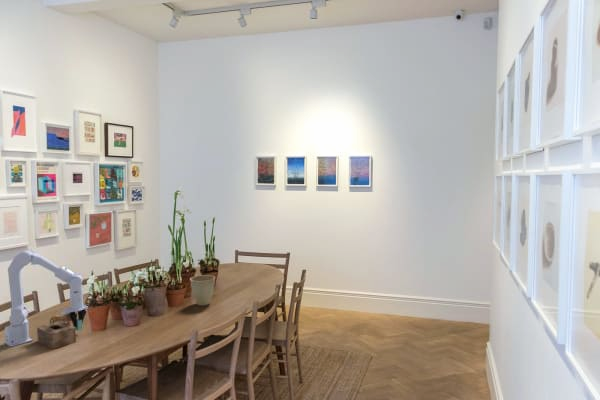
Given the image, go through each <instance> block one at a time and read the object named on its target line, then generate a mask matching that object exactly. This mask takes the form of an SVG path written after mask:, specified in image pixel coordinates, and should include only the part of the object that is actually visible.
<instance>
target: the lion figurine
mask: <svg viewBox="0 0 600 400" xmlns="http://www.w3.org/2000/svg"><path fill="white" fill-rule="evenodd" d="M75 313H76V314H77V315H78V312H75ZM58 321H63V322H65V323H67V324H69V325H71V322H72V320H71V318H70V316H69V315H68V314H66V315H59V314H55V315H53V316H52V317H50V320H49V323H48V324H50V323H54V322H58Z"/></svg>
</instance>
